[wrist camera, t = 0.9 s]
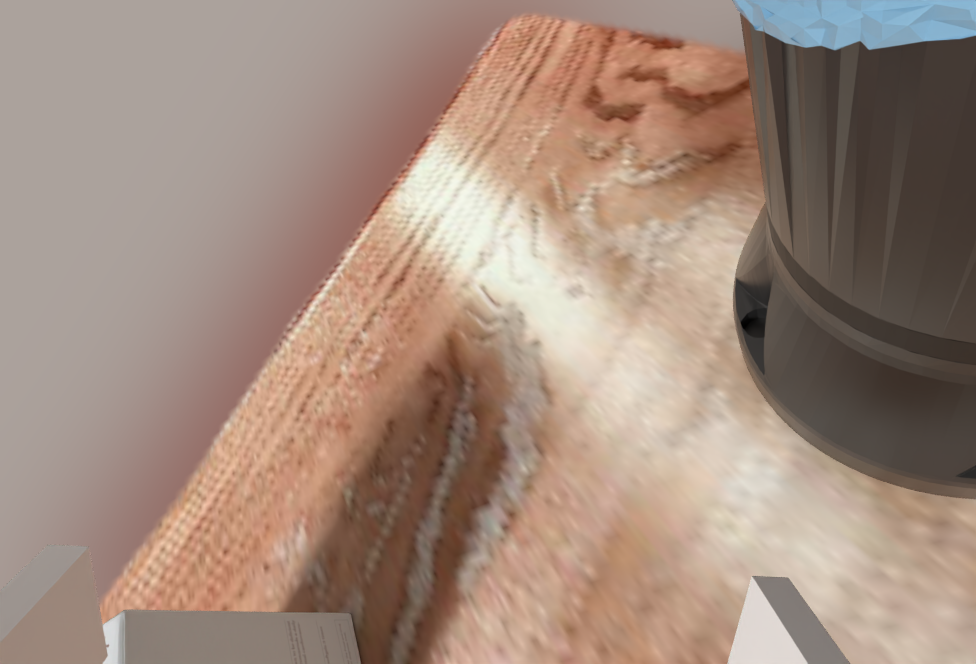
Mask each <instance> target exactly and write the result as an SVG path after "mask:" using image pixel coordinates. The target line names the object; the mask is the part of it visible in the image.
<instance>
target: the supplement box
mask: <svg viewBox="0 0 976 664" xmlns="http://www.w3.org/2000/svg"><path fill="white" fill-rule="evenodd" d="M103 631H104V636H105V642H106V648H107V654H108V657H107V658H106V659H105V661H104V662H103V664H361V661H360V656H359V651H358V647H357V642H356V637H355V633H354V628H353V623H352V618H351V614H350V613H308V612H237V611H171V610H124V611H122V612H121V613H119V614H118V615H116V616H115V617H113V618H112V619H110V620H109V621H107V622H106V623H104V624H103Z"/></svg>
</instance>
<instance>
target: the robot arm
mask: <svg viewBox="0 0 976 664" xmlns="http://www.w3.org/2000/svg"><path fill="white" fill-rule="evenodd" d="M732 1H733V2H734V5H735V6H736V8H737V10H738V11H739V12H740V16H741V24H742V31H743V38H744V46H745V53H746V61H747V68H748V75H749V83H750V90H751V97H752V105H753V112H754V119H755V127H756V134H757V141H758V149H759V156H760V163H761V171H762V178H763V186H764V193H765V199H766V202H765V204H764V206H763V208H762V210H761V212H760V214H759V216H758V218H757V220H756V222H755V224H754V226H753V228H752V230H751V232H750V234H749V236H748V238H747V241H746V243H745V245H744V247H743V250H742V253H741V255H740V258H739V262H738V265H737V269H736V275H735V281H734V291H733V311H734V320H735V326H736V331H737V335H738V338H739V342H740V346H741V350H742V353H743V357H744V360H745V362H746V365H747V368H748V370H749V372H750V374H751V376H752V378H753V380H754V382H755V384H756V385H757V387H758V389H759V391H760V392H761V393H762V395H763V396H764V398H765V399H766V401H767V402H768V403H769V405H770V406H771V407H772V408H773V409H774V411H775V412H776V413H777V414H778V415H779V416H780V417H781V418H782V419H783V420H784V422H785V423H787V424H788V425H789V426H790V427H791V428H792V429H793V430H794V431H795V432H796V433H798V434H799V435H800V436H801V437H802V438H804V439H805V440H806V441H807V442H809V443H810V444H812V445H813V446H815V447H816V448H817V449H819V450H820V451H822V452H823V453H825V454H827V455H828V456H830V457H832V458H833V459H835V460H837V461H839V462H841V463H842V464H844V465H846V466H848V467H850V468H852V469H855V470H857V471H859V472H861V473H863V474H866V475H868V476H871V477H873V478H876V479H879V480H881V481H884V482H887V483H890V484H893V485H897V486H900V487H904V488H908V489H911V490H915V491H919V492H925V493H930V494H935V495H941V496H949V497H956V498H968V499H976V0H732ZM107 657H108V654H107V648H106V642H105V636H104V631H103V625H102V619H101V613H100V607H99V602H98V596H97V590H96V585H95V579H94V573H93V567H92V561H91V555H90V550H89V547H87V546H65V545H47V546H46V547H45V548H44V549H43V550H42V551H41V552H40V553H39V554H38V555H37V556H36V557H35V558H34V559H33V560H31V561H30V562H29V563H28V564H27V565H26V566H25V567H24V568H23V569H22V570H21V571H20V572H19V573H18V574H17V575H16V576H15V577H14V578H13V579H12V580H11V581H10V582H9V583H8V584H7V585H6V586H5V587H4V588H3V589H2V590H1V591H0V664H103V662H104V661H105V659H106V658H107ZM728 664H850V663H849V661H848V660H847V659H846V657H845V656H844V655H843V653H842V652H841V650H840V649H839V648H838V646H837V645H836V643H835V642H834V641H833V639H832V638H831V636H830V635H829V634H828V632H827V631H826V629H825V628H824V627H823V625H822V624H821V623H820V621H819V620H818V618H817V617H816V616H815V614H814V613H813V611H812V610H811V609H810V607H809V606H808V604H807V603H806V602H805V600H804V599H803V597H802V596H801V595H800V593H799V592H798V591H797V589H796V588H795V586H794V585H793V584H792V582H791V581H790V579H789V578H785V577H763V576H752V578H751V581H750V585H749V588H748V592H747V596H746V599H745V603H744V606H743V610H742V613H741V617H740V621H739V624H738V628H737V631H736V635H735V638H734V642H733V646H732V649H731V653H730V656H729V660H728Z"/></svg>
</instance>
